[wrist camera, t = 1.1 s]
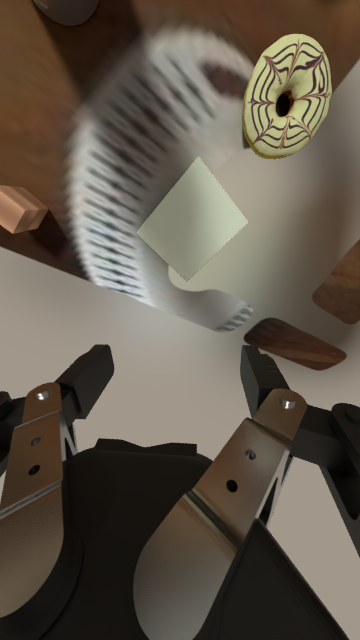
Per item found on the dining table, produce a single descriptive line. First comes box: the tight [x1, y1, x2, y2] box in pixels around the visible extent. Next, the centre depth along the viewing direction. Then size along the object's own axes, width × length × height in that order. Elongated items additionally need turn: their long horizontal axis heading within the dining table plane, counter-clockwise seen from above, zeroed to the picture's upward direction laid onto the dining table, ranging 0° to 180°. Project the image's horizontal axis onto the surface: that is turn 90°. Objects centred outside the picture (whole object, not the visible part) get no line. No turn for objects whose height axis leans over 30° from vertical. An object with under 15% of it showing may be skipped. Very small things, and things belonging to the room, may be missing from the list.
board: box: [136, 156, 248, 281], centre depth 34 cm, size 14×12×1 cm
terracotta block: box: [0, 186, 49, 233], centre depth 29 cm, size 4×4×6 cm
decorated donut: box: [242, 34, 332, 159], centre depth 26 cm, size 10×11×4 cm
